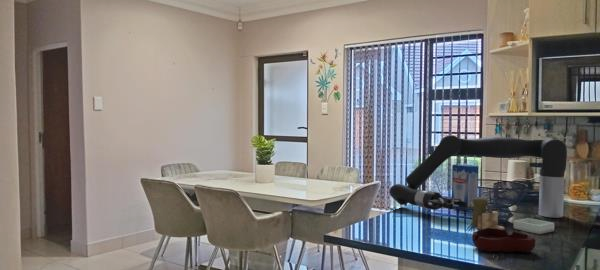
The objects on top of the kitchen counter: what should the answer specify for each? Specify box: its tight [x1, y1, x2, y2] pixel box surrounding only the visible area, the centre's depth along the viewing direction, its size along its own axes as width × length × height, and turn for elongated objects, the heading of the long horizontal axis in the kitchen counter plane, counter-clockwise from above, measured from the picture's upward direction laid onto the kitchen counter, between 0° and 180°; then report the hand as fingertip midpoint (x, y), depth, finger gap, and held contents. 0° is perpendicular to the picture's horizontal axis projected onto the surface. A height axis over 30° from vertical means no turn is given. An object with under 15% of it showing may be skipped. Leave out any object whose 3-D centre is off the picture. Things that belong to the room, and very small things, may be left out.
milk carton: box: [451, 163, 480, 212], centre depth 216 cm, size 10×6×20 cm, turn 25°
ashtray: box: [471, 228, 536, 255], centre depth 150 cm, size 18×16×5 cm
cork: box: [470, 196, 488, 229], centre depth 180 cm, size 6×6×11 cm
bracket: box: [477, 203, 506, 230], centre depth 176 cm, size 10×5×9 cm, turn 124°
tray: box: [512, 217, 555, 235], centre depth 176 cm, size 10×10×3 cm
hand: (459, 205), depth 188 cm, fingers open, 8 cm apart
